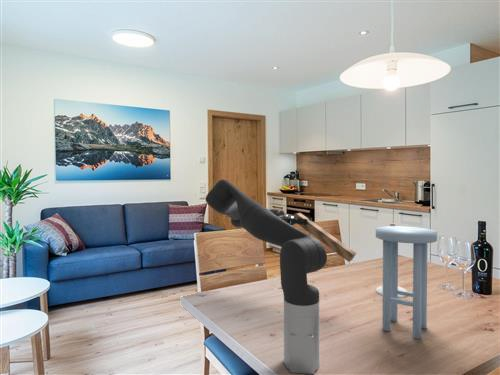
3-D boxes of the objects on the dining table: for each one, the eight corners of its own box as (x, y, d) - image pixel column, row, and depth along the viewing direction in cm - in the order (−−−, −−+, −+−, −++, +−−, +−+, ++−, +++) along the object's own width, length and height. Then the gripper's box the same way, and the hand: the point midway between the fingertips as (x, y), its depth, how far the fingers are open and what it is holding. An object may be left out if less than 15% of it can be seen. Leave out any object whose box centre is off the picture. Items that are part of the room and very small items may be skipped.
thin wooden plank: (352, 260, 123) (356, 253, 122) (348, 261, 120) (353, 254, 119) (296, 219, 136) (300, 212, 135) (292, 220, 133) (296, 213, 132)
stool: (440, 325, 113) (441, 229, 112) (430, 347, 99) (431, 237, 98) (383, 312, 124) (384, 224, 123) (367, 330, 109) (368, 231, 108)
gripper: (280, 225, 147) (317, 228, 137) (261, 229, 135) (300, 233, 125) (280, 207, 147) (317, 210, 136) (261, 210, 135) (300, 213, 125)
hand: (309, 221), depth 131 cm, fingers closed on thin wooden plank, 3 cm apart
